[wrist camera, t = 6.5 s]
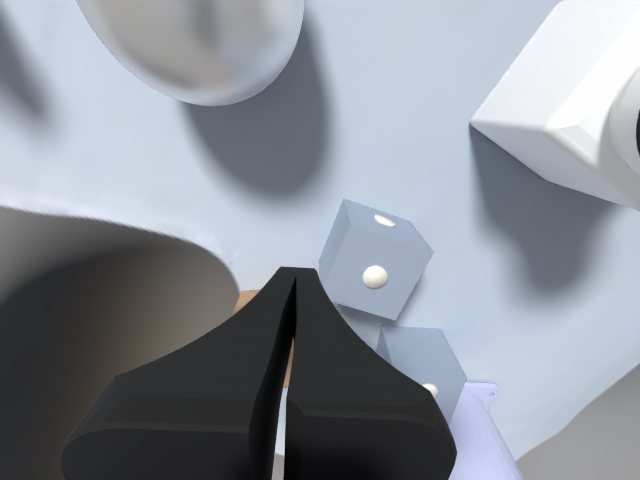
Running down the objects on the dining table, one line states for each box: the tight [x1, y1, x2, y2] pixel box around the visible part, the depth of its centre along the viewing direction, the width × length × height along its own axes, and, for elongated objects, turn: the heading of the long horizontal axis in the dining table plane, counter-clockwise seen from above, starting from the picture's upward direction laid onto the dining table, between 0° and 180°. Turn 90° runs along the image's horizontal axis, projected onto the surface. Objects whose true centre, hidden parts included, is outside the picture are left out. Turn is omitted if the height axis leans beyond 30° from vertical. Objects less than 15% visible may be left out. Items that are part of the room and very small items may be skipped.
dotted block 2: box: [376, 326, 467, 426], centre depth 24 cm, size 5×5×5 cm
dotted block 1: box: [319, 199, 434, 321], centre depth 20 cm, size 5×5×5 cm
